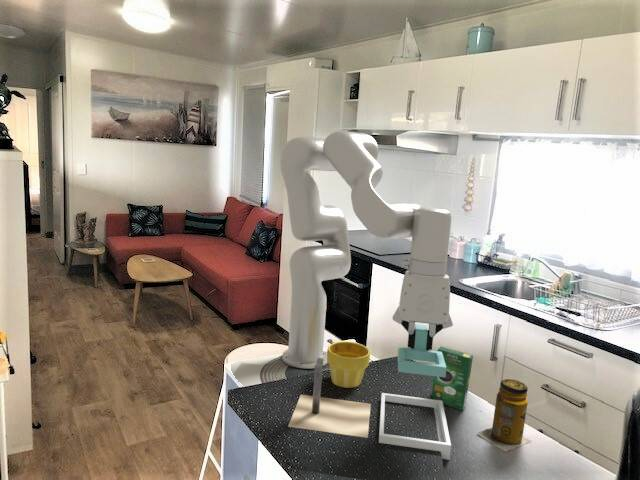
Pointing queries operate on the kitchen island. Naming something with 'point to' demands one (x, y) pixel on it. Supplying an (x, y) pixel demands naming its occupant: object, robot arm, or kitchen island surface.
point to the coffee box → (453, 379)
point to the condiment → (508, 416)
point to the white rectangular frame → (440, 445)
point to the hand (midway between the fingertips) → (419, 350)
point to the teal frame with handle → (421, 357)
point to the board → (332, 416)
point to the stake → (317, 386)
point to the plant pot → (347, 363)
